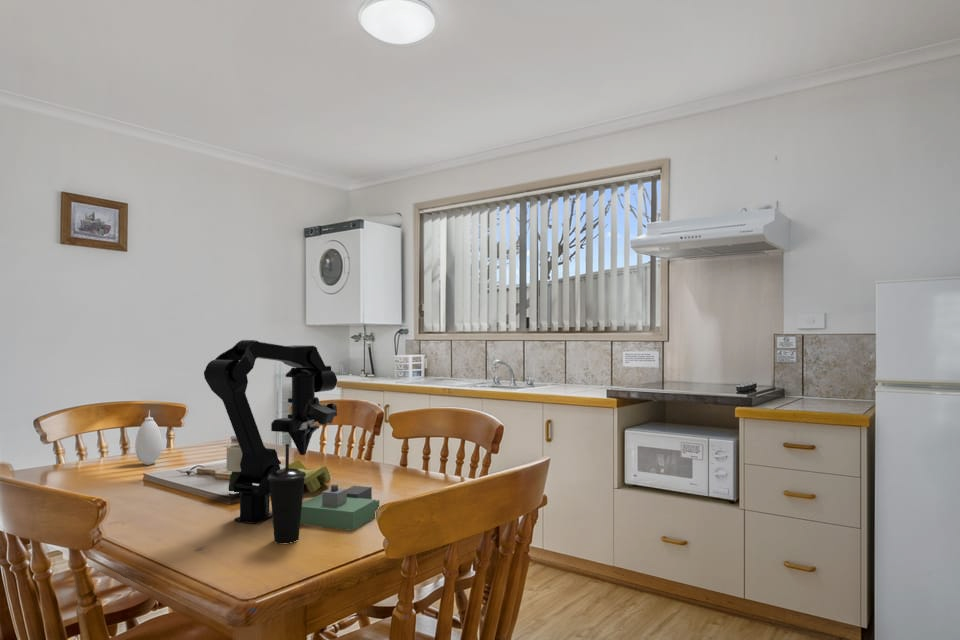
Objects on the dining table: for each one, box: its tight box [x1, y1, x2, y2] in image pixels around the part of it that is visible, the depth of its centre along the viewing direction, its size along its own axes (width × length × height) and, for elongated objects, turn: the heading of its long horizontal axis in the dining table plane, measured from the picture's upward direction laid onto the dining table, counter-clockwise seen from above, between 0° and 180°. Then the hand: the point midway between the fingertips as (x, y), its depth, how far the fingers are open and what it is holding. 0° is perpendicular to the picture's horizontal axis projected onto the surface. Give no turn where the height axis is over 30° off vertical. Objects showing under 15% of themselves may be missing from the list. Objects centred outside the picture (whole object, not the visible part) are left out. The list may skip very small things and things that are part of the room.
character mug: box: [226, 443, 254, 491], centre depth 164 cm, size 11×7×13 cm, turn 42°
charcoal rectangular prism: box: [346, 485, 373, 499], centre depth 150 cm, size 7×5×5 cm
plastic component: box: [282, 459, 331, 493], centre depth 172 cm, size 20×7×10 cm
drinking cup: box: [268, 443, 306, 544], centre depth 128 cm, size 8×8×20 cm
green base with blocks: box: [300, 484, 380, 531], centre depth 145 cm, size 17×15×8 cm
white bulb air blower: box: [134, 409, 163, 466], centre depth 201 cm, size 8×8×18 cm
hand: (302, 454), depth 157 cm, fingers closed
